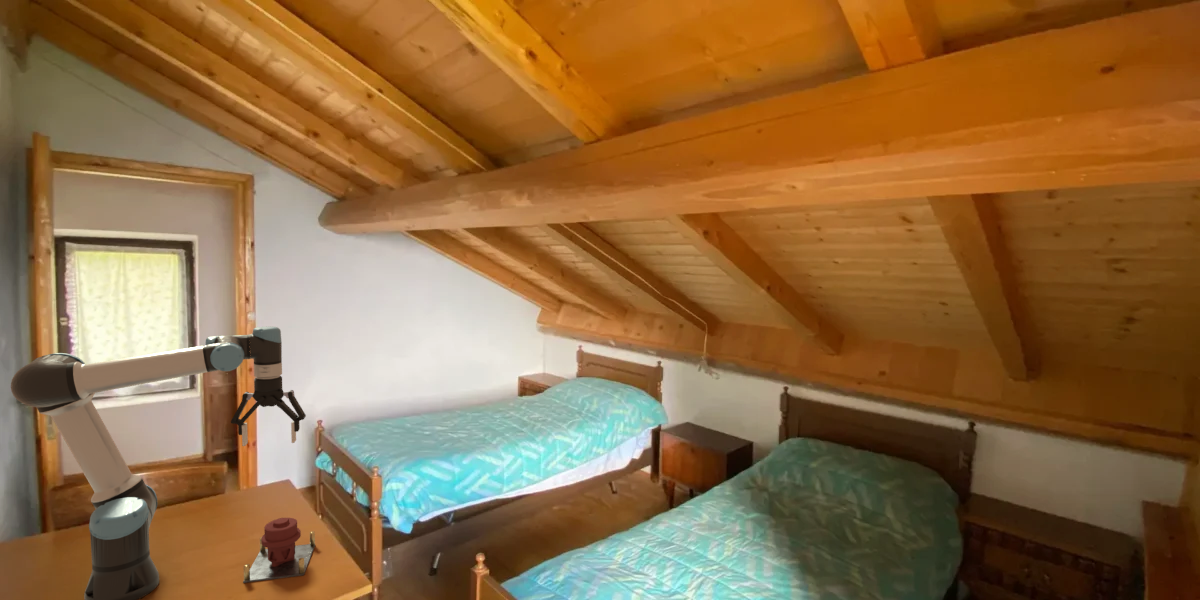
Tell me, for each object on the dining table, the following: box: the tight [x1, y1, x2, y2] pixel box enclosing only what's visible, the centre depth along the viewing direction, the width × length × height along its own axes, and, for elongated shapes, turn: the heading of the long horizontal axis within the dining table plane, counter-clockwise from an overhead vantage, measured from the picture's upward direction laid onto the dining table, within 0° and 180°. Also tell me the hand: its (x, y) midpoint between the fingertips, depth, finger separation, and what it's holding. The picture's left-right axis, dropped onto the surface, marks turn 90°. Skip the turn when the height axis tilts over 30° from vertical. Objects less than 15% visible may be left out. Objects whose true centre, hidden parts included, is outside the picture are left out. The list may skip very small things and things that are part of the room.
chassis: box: [243, 530, 316, 584], centre depth 165 cm, size 15×17×4 cm
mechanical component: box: [261, 517, 302, 567], centre depth 165 cm, size 12×10×10 cm
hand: (269, 443), depth 177 cm, fingers open, 13 cm apart
